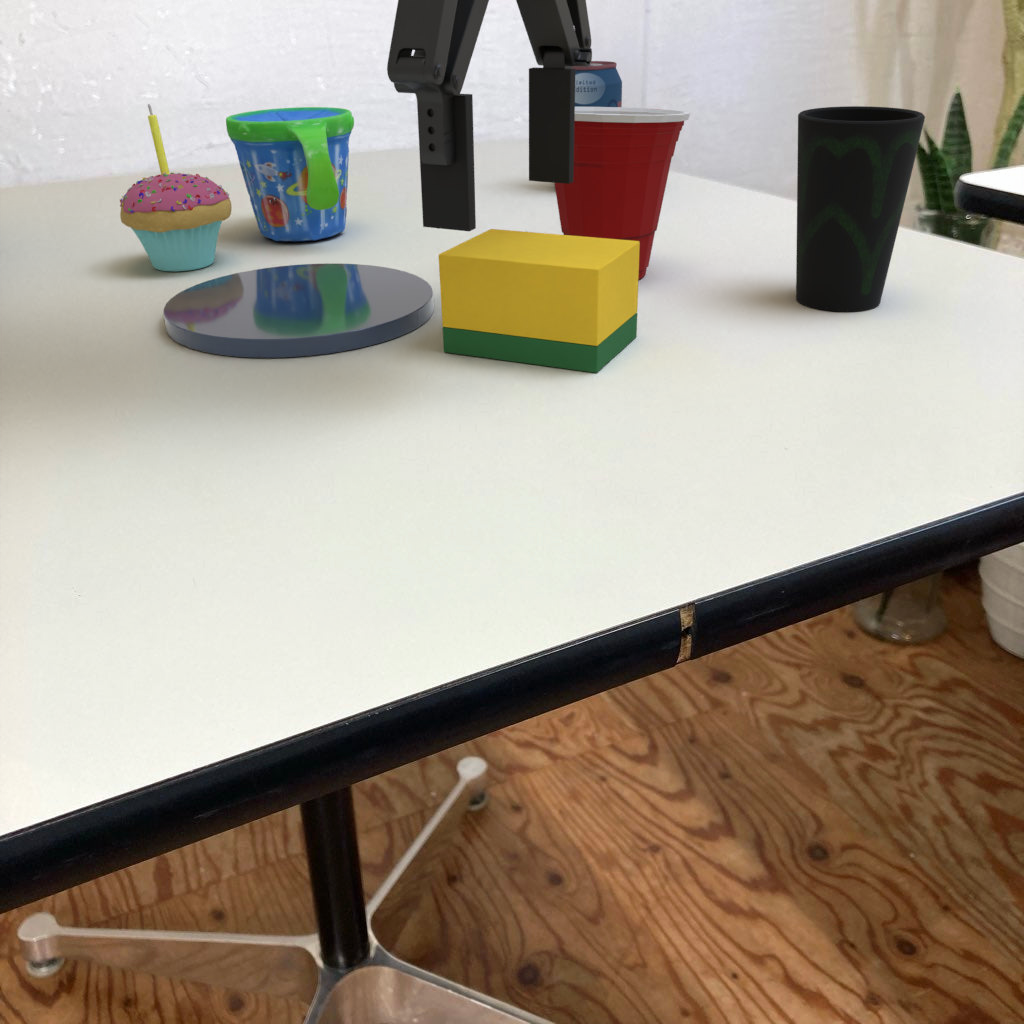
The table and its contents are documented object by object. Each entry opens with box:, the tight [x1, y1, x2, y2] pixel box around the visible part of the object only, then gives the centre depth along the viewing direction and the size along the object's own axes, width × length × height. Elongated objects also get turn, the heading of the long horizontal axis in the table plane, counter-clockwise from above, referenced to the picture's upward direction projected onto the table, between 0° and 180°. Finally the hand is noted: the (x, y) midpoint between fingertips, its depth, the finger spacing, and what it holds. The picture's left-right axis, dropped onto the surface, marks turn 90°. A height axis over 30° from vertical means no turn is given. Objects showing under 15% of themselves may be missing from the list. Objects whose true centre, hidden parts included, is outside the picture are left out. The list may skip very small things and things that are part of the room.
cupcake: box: [119, 103, 232, 272], centre depth 81 cm, size 9×8×12 cm
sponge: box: [438, 228, 640, 374], centre depth 63 cm, size 10×7×6 cm
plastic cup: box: [554, 106, 691, 280], centre depth 76 cm, size 11×11×12 cm
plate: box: [162, 263, 435, 359], centre depth 71 cm, size 18×18×1 cm
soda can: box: [572, 60, 623, 107], centre depth 106 cm, size 7×7×12 cm
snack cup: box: [225, 106, 355, 242], centre depth 90 cm, size 16×10×10 cm
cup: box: [795, 105, 926, 313], centre depth 68 cm, size 8×8×12 cm
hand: (504, 203), depth 60 cm, fingers open, 13 cm apart
